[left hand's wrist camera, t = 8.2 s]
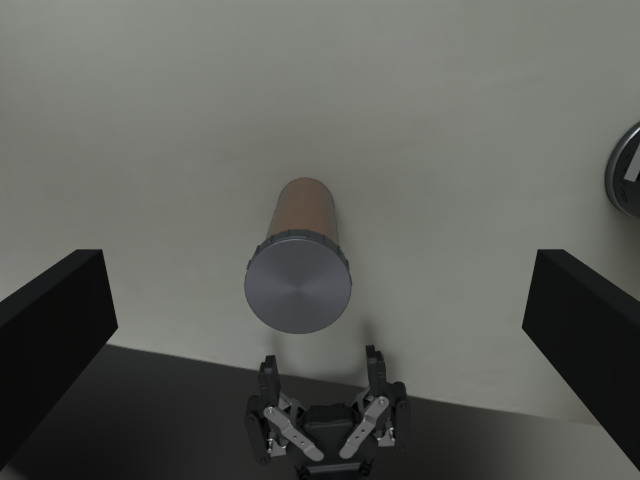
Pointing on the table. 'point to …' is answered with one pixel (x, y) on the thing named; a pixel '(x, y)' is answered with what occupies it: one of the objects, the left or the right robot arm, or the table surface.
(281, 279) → the lid
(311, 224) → the jar
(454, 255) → the table surface
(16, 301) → the left robot arm
